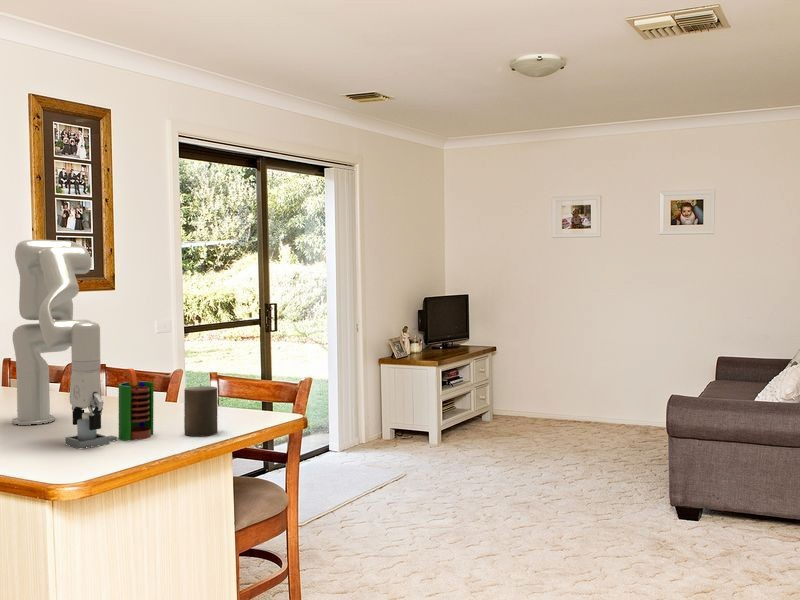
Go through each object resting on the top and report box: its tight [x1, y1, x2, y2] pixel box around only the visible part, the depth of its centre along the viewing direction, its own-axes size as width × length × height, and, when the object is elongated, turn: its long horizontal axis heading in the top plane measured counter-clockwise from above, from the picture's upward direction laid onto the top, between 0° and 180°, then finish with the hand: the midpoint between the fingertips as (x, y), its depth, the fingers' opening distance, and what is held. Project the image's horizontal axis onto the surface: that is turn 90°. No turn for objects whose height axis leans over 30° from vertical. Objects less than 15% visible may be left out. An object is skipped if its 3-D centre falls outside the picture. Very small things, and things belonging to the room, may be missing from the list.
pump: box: [76, 411, 98, 441], centre depth 223 cm, size 5×5×9 cm
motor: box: [118, 368, 155, 441], centre depth 232 cm, size 10×9×20 cm
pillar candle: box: [183, 383, 218, 437], centre depth 238 cm, size 10×10×15 cm
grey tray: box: [64, 433, 118, 449], centre depth 224 cm, size 9×12×2 cm
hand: (86, 426), depth 223 cm, fingers open, 9 cm apart
